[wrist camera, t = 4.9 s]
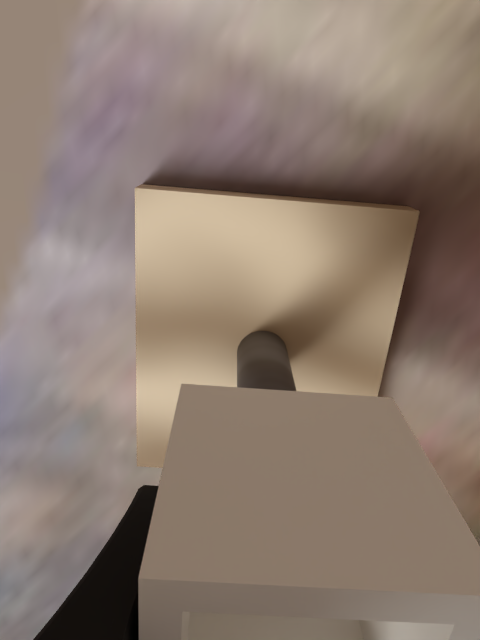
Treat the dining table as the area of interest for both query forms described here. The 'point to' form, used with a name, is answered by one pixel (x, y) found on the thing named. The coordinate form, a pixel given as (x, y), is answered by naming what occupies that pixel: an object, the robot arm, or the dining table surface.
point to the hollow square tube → (303, 525)
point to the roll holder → (260, 296)
